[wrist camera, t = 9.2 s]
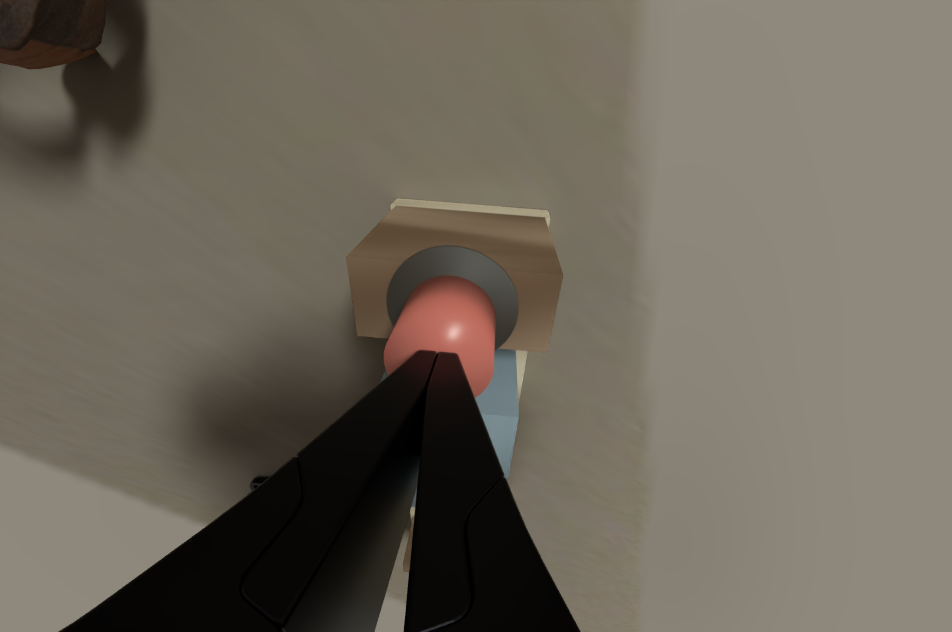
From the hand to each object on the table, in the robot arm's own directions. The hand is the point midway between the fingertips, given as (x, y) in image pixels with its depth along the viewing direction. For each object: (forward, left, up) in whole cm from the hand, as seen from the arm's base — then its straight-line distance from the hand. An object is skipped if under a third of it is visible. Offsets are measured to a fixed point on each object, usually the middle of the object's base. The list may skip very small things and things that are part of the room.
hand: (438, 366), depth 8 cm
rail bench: (-10, 0, -8) cm, 13 cm away
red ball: (0, 0, -2) cm, 2 cm away
